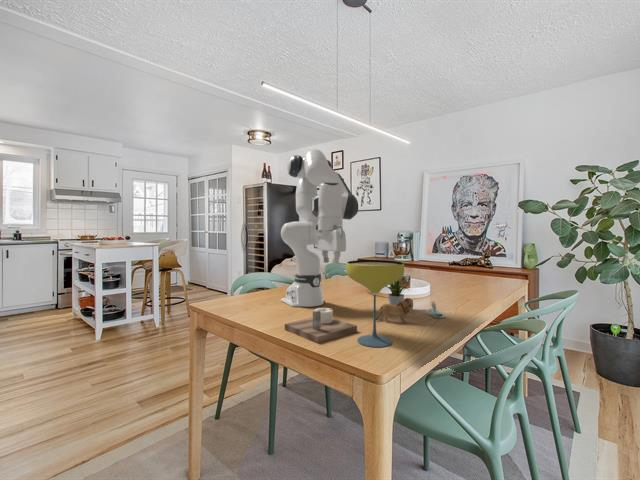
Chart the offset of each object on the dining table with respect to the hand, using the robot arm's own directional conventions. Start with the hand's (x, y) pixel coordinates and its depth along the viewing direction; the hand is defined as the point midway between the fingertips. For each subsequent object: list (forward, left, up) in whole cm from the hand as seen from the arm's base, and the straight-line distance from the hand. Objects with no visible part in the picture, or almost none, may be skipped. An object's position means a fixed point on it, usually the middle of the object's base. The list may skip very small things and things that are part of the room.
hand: (330, 263), depth 121 cm
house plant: (+2, +38, -23) cm, 44 cm away
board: (+3, -7, -23) cm, 24 cm away
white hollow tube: (0, -3, -21) cm, 21 cm away
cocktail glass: (+22, -1, -23) cm, 32 cm away
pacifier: (+19, +41, -23) cm, 51 cm away
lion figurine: (+12, +23, -23) cm, 35 cm away
